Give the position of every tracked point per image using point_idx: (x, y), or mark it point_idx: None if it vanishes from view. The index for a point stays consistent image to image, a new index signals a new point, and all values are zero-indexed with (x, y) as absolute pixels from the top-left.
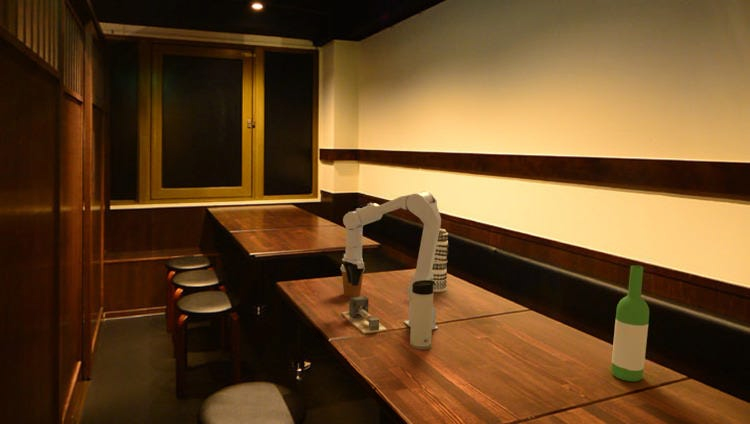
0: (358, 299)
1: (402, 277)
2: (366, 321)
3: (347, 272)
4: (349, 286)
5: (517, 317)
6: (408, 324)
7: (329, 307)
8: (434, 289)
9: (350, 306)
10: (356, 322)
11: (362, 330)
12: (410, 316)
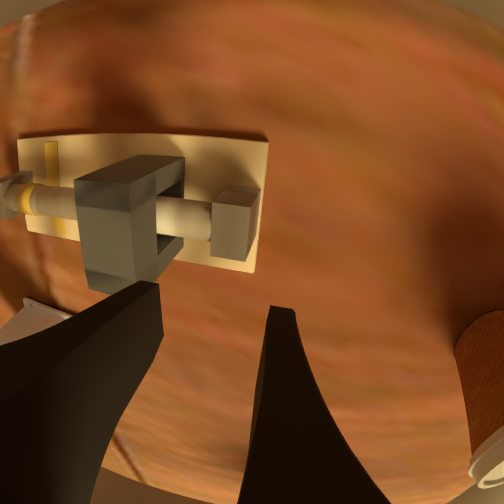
0: (83, 224)
1: (455, 475)
2: None
3: (258, 412)
4: (495, 353)
5: (111, 460)
6: (56, 312)
7: (416, 139)
8: None
9: (148, 168)
10: (93, 150)
11: (25, 141)
12: (37, 330)
